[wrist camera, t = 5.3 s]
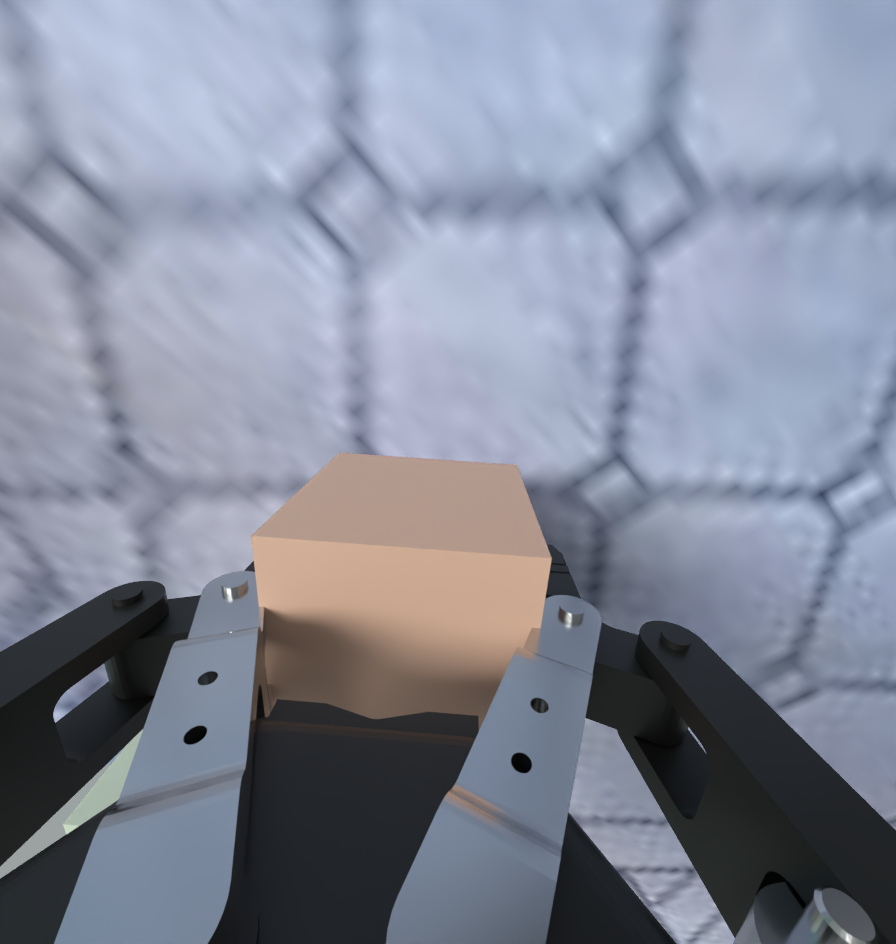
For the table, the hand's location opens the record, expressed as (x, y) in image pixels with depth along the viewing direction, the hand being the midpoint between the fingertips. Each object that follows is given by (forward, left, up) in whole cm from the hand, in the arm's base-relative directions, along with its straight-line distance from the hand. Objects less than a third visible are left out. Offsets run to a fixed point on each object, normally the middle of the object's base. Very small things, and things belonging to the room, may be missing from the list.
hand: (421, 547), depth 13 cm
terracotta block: (0, 0, -1) cm, 1 cm away
